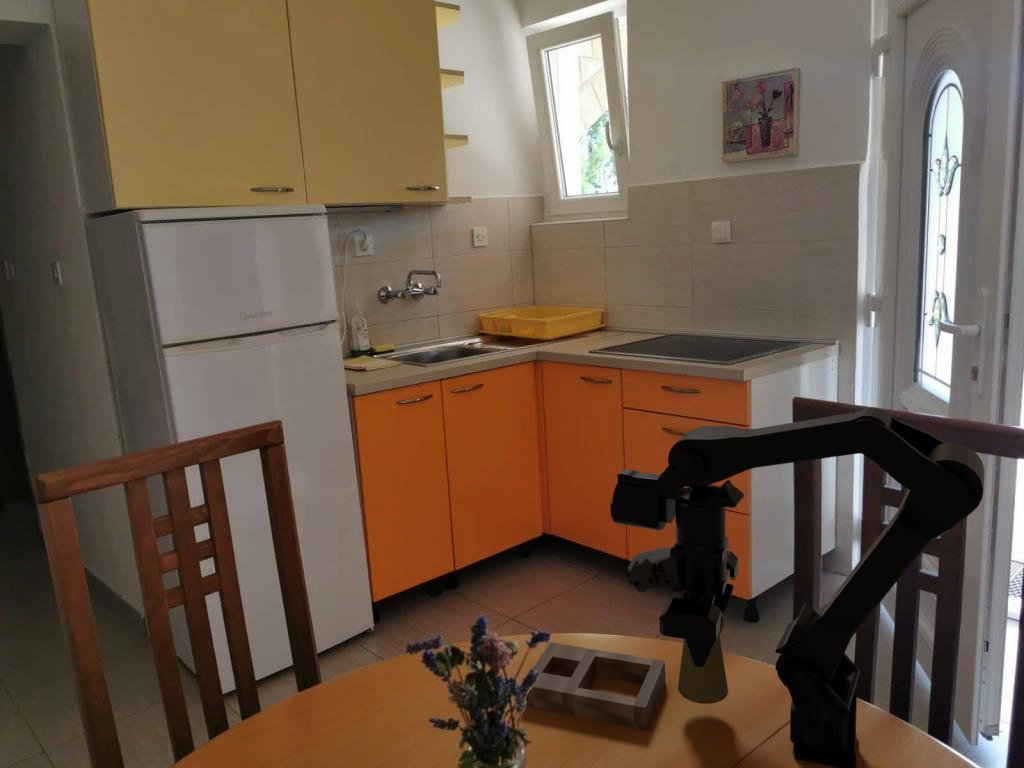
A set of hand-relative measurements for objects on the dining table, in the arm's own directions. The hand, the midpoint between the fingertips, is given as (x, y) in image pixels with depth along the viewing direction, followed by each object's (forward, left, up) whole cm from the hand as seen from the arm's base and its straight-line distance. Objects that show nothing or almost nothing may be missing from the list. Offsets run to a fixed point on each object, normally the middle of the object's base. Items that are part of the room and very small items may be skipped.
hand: (702, 655), depth 96 cm
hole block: (+14, 0, -8) cm, 16 cm away
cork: (0, 0, -5) cm, 5 cm away
